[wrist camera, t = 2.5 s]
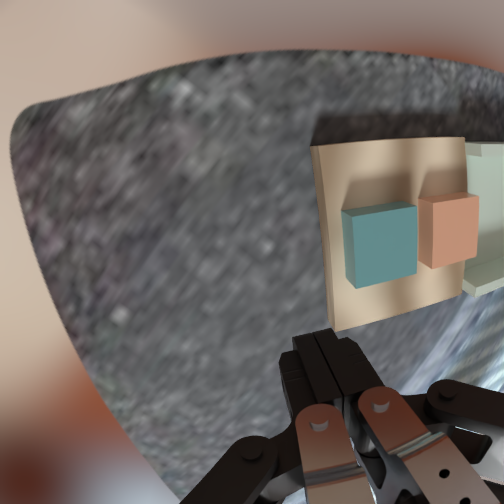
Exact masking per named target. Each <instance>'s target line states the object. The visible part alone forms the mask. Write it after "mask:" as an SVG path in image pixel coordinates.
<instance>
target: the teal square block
mask: <svg viewBox="0 0 504 504" xmlns="http://www.w3.org/2000/svg"><path fill="white" fill-rule="evenodd" d="M341 219H342V230H343V243H344V258H345V275H346V279H347V280H348V281H349V282H350V283H351V284H352V285H353V286H354V288H355V289H358V288H362V287H367V286H371V285H375V284H379V283H383V282H387V281H391V280H395V279H399V278H402V277H406V276H410V275H414V274H417V243H418V226H417V206H416V205H413V204H410V203H407V202H404V201H398V202H391V203H385V204H378V205H372V206H366V207H360V208H354V209H347V210H341Z"/></svg>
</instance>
